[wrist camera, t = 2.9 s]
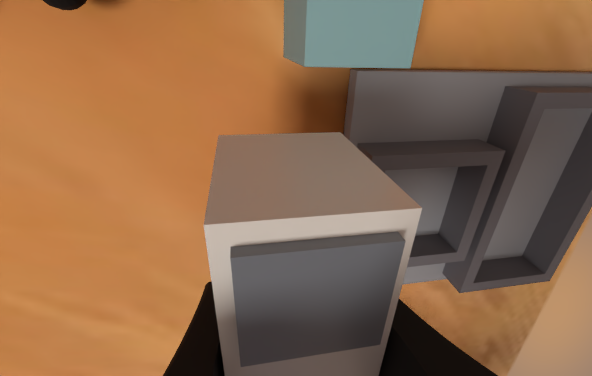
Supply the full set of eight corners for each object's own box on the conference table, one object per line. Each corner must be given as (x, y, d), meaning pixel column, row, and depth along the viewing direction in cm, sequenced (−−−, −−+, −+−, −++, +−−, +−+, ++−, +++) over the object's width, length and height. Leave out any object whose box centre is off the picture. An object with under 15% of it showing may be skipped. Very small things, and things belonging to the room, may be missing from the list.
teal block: (360, 58, 15) (410, 68, 11) (283, 57, 14) (304, 66, 10) (371, -38, 13) (437, -72, 9) (284, -45, 13) (310, -87, 8)
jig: (520, 260, 25) (553, 286, 22) (327, 282, 22) (340, 316, 20) (611, 72, 18) (674, 78, 16) (350, 68, 15) (374, 76, 13)
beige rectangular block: (320, 329, 15) (360, 467, 10) (238, 341, 14) (239, 496, 9) (340, 132, 10) (431, 216, 5) (218, 135, 9) (201, 235, 5)
